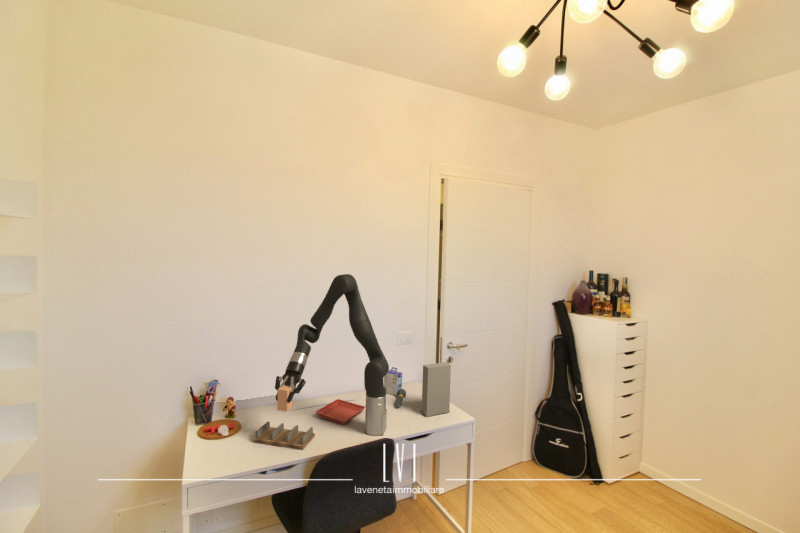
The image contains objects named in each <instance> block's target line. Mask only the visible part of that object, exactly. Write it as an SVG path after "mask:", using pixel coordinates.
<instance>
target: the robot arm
mask: <svg viewBox="0 0 800 533" xmlns="http://www.w3.org/2000/svg"><path fill="white" fill-rule="evenodd" d="M343 296H344V297H345V299H346V302H347V306H348V320H349V325H350V328H351V331H352V333H353V336H354V338H355V339H356V340H357V341H358V342H359V344H360V345H361V346H362V347H363V348H364V349H365V352H366V354H367V357H368V361H369V362H368V363H367V364H365V367H364V375H363V376H364V383H363V384H364V390H365V415H364V417H365V421H364V422H365V425H364V429H365V430H364V431H365V433H366V435H369V436H375V437H376V436H383V435H384V434H385V433H386V430H387V413H388V411H387V410H388V409H387V403H386V402H387V393H386V388H385V387H384V376H385V375H386V374H387V373H388V371H389V370H390V368H389V367H390V366H389V362H388V360H387V359H386V355H385V354H384V352H383V350H382V348H381V346H380V344H379V342H378V339H377V335H376V334H375V333H376V332H375V331H374V329H373V325H372V323H371V320H370V317H369V316H368V312H367V311H366V308H365V305H364V303H363V300H362V296H361V294H360V290H359V286H358V282H357V280H356V278H355V277H354V276H353V275H352V274H349V273H345V274H338V275H336V276H335V277H333V280H332V282H331V284H330V286H329V287H328V290H327V292H326V294H325V296H324V299H323V300H322V301H321V302H320V305H319V306H318V307H317V309H316V311H315V312H314V314H313V315H312V316H311V318H310V321H309V322H310V324H311V325H312V326H311V325H309V324H307V323H305V324H301V325H300V326H299V329H298V331H297V338H296V339H297V340H296V345H295V348H294V351H293V353H292V355H291V356H290V358H289V361H288V363H287V366H286V369H285V372H284V374H283V375H282V376H279V375H277V376H275V377H276V378H275V385H274V389H275V391H277V392H276V395H275V401H277V400H278V389H279V388H281V387H283V386H291V392H290V393H289V396H288V398H287V402H288V403H290V401H292V402H293V398H294V396H295V395H296V394H299V393H300V392H301V391H302V389H303V388H304V386H305V385H306V380H305V378H302V376H303V373H304V370H305V367H306V366H307V362H308V359H309V356H310V353H311V350H312V346H311V345H310V343H311V344H315V343H317V342H318V341H319V338H320V337H321V332H322V330H323V329H324V326H325V325H326V323H327V321H329V319H330V317H331V316H332V314H333V311H334V309H335V308H334V307H335V305H336V303H337V302H338V301H339V299H340V298H342V297H343ZM308 342H309V343H308Z"/></svg>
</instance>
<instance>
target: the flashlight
mask: <svg viewBox="0 0 800 533" xmlns="http://www.w3.org/2000/svg"><path fill="white" fill-rule="evenodd" d="M397 394H398V395H397V397H396V400H395V407H396V408H401V406H402V404H403V402H404V398H406V395H407V391H406V390H405V389H403V388H402V389H400V390H399V391H398V393H397Z"/></svg>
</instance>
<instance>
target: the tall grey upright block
mask: <svg viewBox="0 0 800 533" xmlns="http://www.w3.org/2000/svg"><path fill="white" fill-rule="evenodd" d="M451 367H452V365H451V364H450V363H448V362H446V361H445V362H436V363H430V364H429V363H428V364H423V365H422V390H421V393H422V394H421V409H420V413H421V414H422V415H424V416H425V417H426V418H428V417H432V416H437V415H442V414H448V413H450V411H451V410H450V405H451V403H450V402H451V372H452V368H451Z"/></svg>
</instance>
